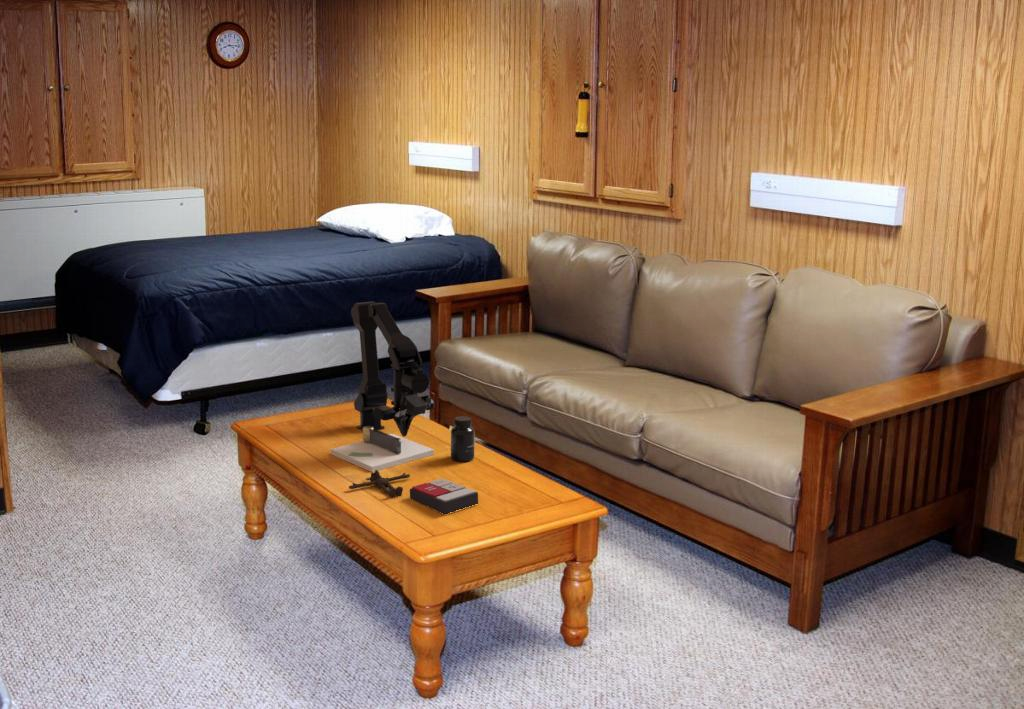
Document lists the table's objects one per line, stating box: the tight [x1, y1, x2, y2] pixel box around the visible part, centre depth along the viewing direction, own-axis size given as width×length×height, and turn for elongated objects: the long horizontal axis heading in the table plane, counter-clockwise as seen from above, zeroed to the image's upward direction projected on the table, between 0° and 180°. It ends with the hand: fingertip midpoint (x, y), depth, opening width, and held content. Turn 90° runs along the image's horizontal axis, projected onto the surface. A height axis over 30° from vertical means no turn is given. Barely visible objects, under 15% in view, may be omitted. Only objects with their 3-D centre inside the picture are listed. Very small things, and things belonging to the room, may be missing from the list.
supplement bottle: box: [450, 416, 476, 463], centre depth 308 cm, size 7×7×12 cm
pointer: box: [362, 426, 401, 454], centre depth 313 cm, size 16×3×4 cm, turn 44°
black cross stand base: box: [348, 470, 411, 499], centre depth 286 cm, size 18×4×14 cm
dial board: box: [330, 433, 435, 473], centre depth 312 cm, size 20×22×2 cm
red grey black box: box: [409, 478, 479, 515], centre depth 277 cm, size 11×4×15 cm
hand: (404, 436), depth 317 cm, fingers closed
